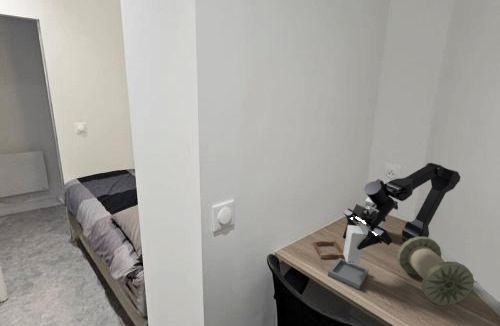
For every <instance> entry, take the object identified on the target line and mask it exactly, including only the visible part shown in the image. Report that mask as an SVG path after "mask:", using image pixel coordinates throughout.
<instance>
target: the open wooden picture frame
mask: <svg viewBox="0 0 500 326" xmlns="http://www.w3.org/2000/svg"><path fill="white" fill-rule="evenodd" d="M311 245H312V247H313V249H314V250H315V252H316V253H317V256H318V257H319V259H320V260H321V259H339V258H342V259H345V257H344V255H343V252H344V249H342V248H341V246H340V244H338V242H337V241H336V240H311ZM319 246H334V248H335V249H336V251H338V253H337V252H336V253H335V252H334V253H322V250H320V249H321V248H319Z"/></svg>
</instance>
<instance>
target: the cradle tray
mask: <svg viewBox="0 0 500 326" xmlns="http://www.w3.org/2000/svg"><path fill="white" fill-rule="evenodd" d="M369 271H370V270H369V269H368V268H366V267H363V266H361V265H360V264H348V263H347V262H346V259H345V258H337V260H336V262H335V263H334V264H333V265H332V266H331V267H330V269H329V270H328V272H327V277H329V278H332V279H334V280H336V281H338V282H340V283H343V284H345V285H346V286H348V287H350V288H353V289H355V290H358V291H359V290H361V289H360V288H361V287H362V285H363V284H364V282H365V280H366V279H367V277H368V275H369Z"/></svg>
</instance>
